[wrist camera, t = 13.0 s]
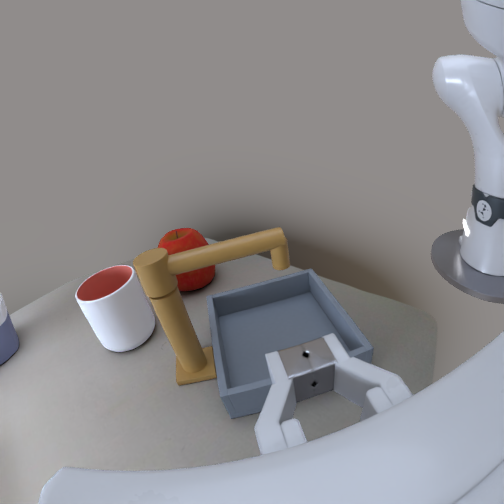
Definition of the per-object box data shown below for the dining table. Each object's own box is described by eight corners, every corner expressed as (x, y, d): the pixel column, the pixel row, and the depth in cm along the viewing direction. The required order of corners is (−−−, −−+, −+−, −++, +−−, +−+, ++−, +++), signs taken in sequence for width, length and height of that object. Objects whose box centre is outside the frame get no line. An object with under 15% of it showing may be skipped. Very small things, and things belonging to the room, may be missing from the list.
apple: (157, 285, 54) (139, 236, 49) (200, 261, 59) (187, 214, 55) (181, 306, 46) (161, 249, 41) (231, 276, 52) (218, 222, 47)
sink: (313, 292, 43) (311, 268, 41) (369, 374, 27) (373, 347, 25) (214, 320, 41) (206, 296, 39) (231, 419, 25) (220, 396, 23)
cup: (110, 320, 45) (86, 273, 40) (160, 309, 46) (139, 258, 41) (98, 359, 36) (66, 307, 31) (155, 350, 37) (127, 293, 32)
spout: (284, 256, 31) (278, 216, 29) (295, 271, 28) (289, 227, 26) (150, 291, 29) (135, 253, 27) (147, 310, 26) (129, 269, 24)
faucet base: (213, 349, 35) (185, 273, 30) (217, 377, 31) (185, 298, 26) (178, 357, 35) (143, 283, 30) (178, 385, 30) (137, 309, 25)
